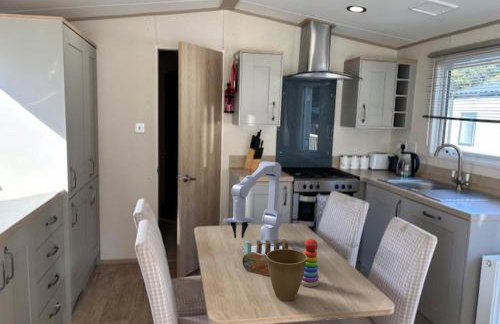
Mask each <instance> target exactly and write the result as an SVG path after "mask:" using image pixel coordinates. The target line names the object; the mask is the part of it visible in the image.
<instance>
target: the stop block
mask: <svg viewBox="0 0 500 324" xmlns="http://www.w3.org/2000/svg"><path fill="white" fill-rule="evenodd" d="M291 249H292V250H297V251H300V252H302V253H303V250H302V249H301V248H300V246H296V245H295V246H291Z"/></svg>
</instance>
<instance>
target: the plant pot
mask: <svg viewBox="0 0 500 324" xmlns="http://www.w3.org/2000/svg"><path fill="white" fill-rule="evenodd" d="M266 256H267V264H268V270H269V275H268V276H269V278H270V279H269V280H270V282H271V286H272V289H273V292H274V295H275V297H276V299H278V300H280V301H284V302H288V301H289V302H290V301H293V300H295V298H297V294H298V293H299V290H300V287H301V285H302V284H301V282H302V278H303V275H304V270H305V266H306V260H307V256H306V255H305V253H304V252H303V251H302V252H300V251H297V250H292V248H288V249H282V248H279V249H277V250H274V249H273V250H271V251H270V252H269V253H267V255H266Z"/></svg>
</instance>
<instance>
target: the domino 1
mask: <svg viewBox="0 0 500 324" xmlns="http://www.w3.org/2000/svg"><path fill="white" fill-rule="evenodd" d="M243 242H244V245H243V247H244V248H243V249H244V250H243V252H244V253H243V256H244V255H245V254H247V253H250V252H252V243H251V242H250V241H249V240H244V241H243Z"/></svg>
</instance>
